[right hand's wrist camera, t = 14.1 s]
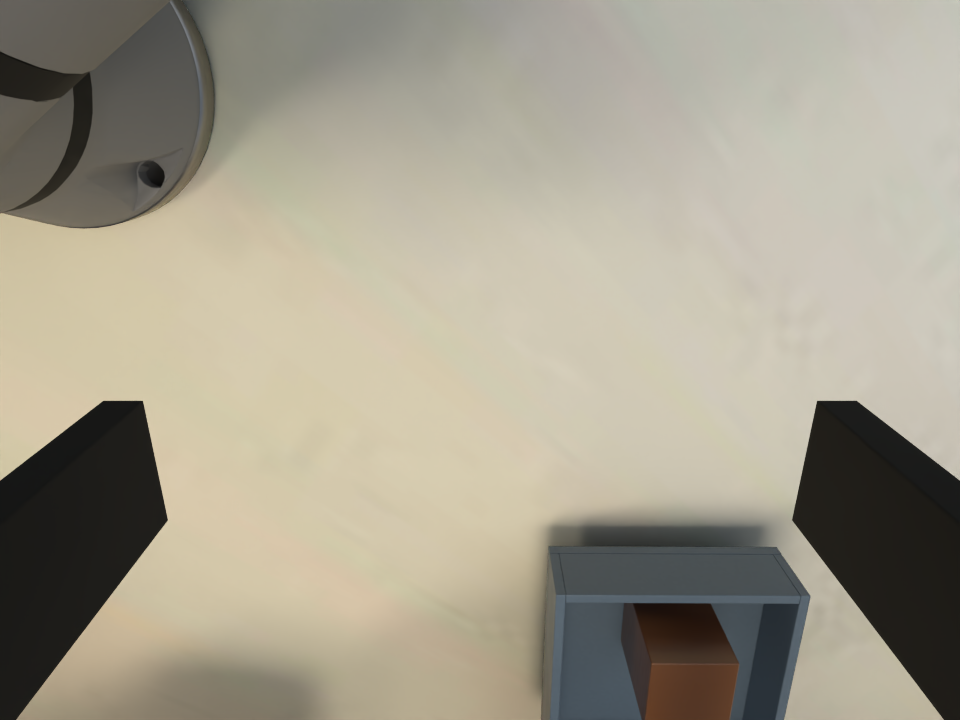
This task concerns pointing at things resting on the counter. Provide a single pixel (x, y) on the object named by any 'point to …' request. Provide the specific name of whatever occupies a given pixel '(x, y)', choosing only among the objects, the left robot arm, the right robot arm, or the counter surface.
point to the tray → (667, 579)
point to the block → (679, 661)
